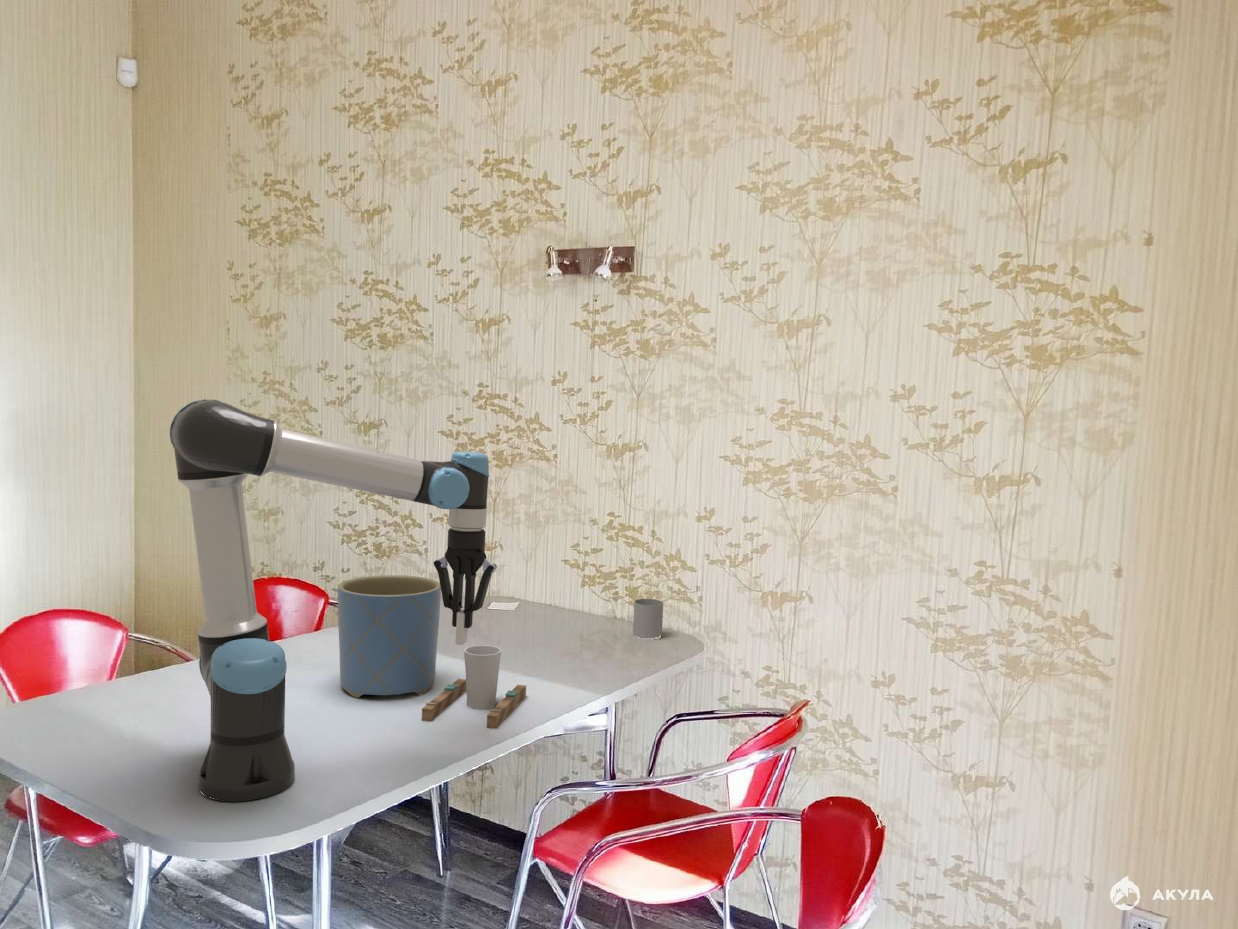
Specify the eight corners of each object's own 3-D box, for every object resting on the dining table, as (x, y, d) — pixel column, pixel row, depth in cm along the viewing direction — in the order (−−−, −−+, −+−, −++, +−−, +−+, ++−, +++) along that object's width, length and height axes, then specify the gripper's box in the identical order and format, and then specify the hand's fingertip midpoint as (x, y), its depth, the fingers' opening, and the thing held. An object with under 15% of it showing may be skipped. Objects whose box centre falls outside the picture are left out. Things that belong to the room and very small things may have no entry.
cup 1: (489, 712, 195) (491, 657, 194) (456, 707, 197) (457, 652, 196) (505, 701, 202) (507, 647, 201) (472, 696, 205) (474, 643, 204)
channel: (496, 728, 185) (496, 713, 185) (421, 720, 188) (421, 705, 188) (526, 696, 206) (526, 682, 206) (458, 689, 209) (458, 676, 209)
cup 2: (629, 638, 260) (630, 603, 259) (637, 631, 268) (638, 597, 267) (658, 641, 257) (659, 606, 257) (665, 634, 265) (666, 600, 265)
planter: (334, 705, 195) (336, 596, 194) (337, 673, 217) (339, 575, 216) (442, 699, 202) (445, 594, 200) (434, 669, 223) (437, 574, 222)
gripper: (503, 528, 188) (497, 642, 189) (443, 523, 190) (438, 635, 192) (491, 533, 181) (485, 651, 182) (429, 527, 183) (423, 644, 184)
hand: (461, 642), depth 187 cm, fingers closed
